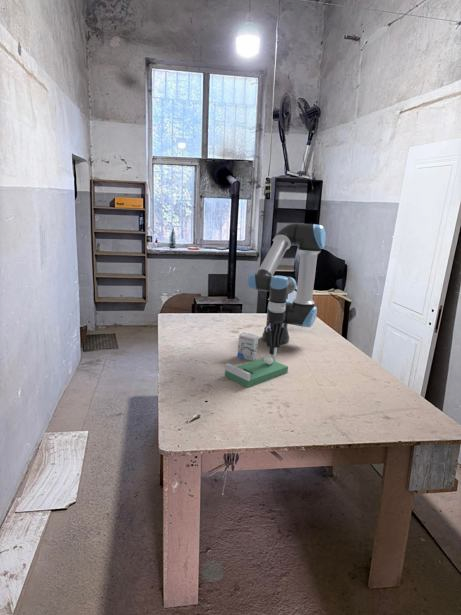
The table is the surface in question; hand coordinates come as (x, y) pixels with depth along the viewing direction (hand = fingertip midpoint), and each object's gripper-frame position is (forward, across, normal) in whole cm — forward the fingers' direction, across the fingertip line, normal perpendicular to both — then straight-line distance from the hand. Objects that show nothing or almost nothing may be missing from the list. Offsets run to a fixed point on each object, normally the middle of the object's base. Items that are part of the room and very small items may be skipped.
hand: (272, 360), depth 194 cm
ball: (-1, -3, 0) cm, 3 cm away
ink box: (+5, +1, +17) cm, 18 cm away
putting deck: (+5, -10, 0) cm, 11 cm away
